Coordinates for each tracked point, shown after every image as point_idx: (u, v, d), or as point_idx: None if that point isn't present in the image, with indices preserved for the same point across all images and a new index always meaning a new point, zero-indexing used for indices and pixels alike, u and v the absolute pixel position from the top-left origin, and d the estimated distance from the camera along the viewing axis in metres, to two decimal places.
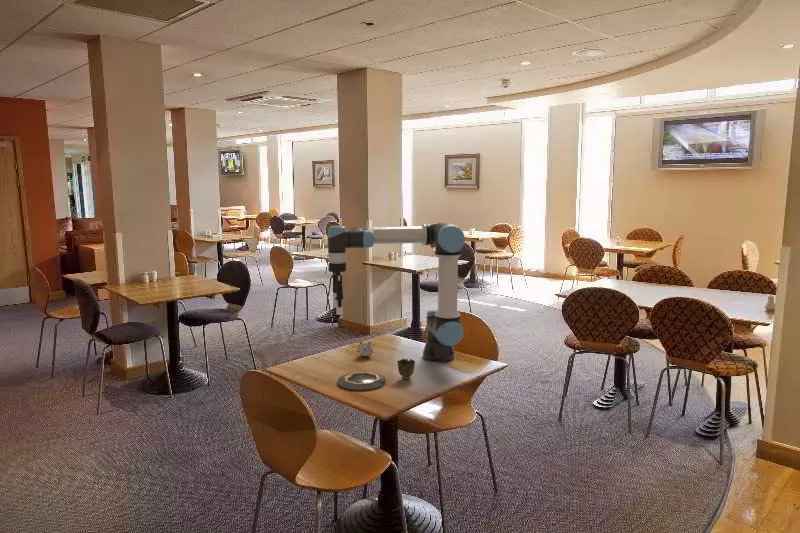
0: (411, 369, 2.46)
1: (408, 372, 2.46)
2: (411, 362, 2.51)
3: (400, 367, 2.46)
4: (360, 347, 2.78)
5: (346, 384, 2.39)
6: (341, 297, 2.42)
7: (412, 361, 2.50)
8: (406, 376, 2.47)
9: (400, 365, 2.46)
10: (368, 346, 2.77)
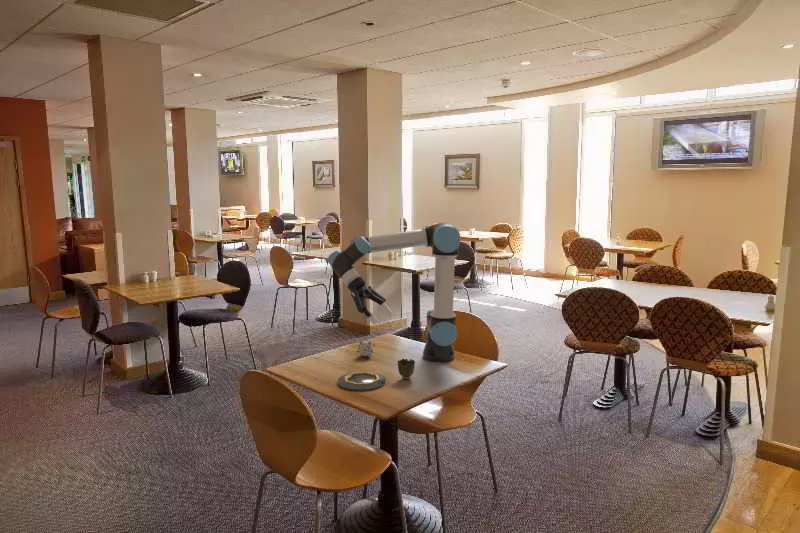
0: (411, 369, 2.46)
1: (408, 372, 2.46)
2: (411, 362, 2.51)
3: (400, 367, 2.46)
4: (360, 347, 2.78)
5: (346, 384, 2.39)
6: (360, 308, 2.43)
7: (412, 361, 2.50)
8: (406, 376, 2.47)
9: (400, 365, 2.46)
10: (368, 346, 2.77)
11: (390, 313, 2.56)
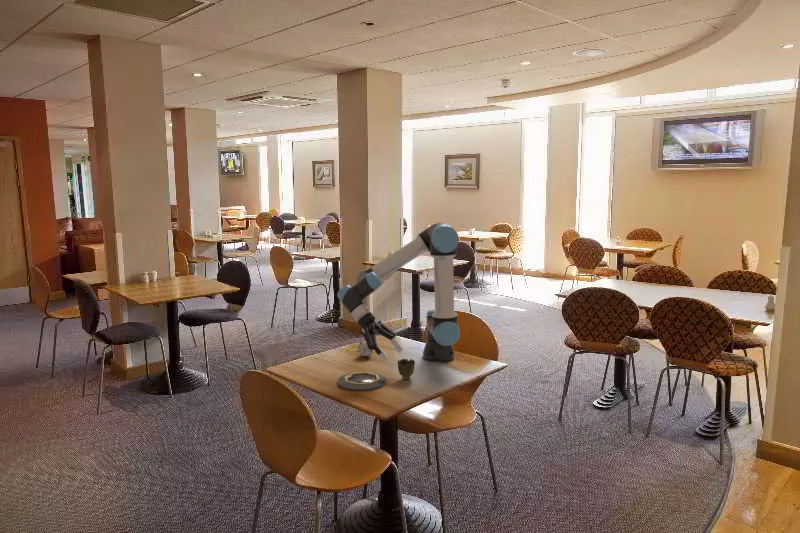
0: (411, 369, 2.46)
1: (408, 372, 2.46)
2: (411, 362, 2.51)
3: (400, 367, 2.46)
4: (360, 347, 2.78)
5: (346, 384, 2.39)
6: (370, 345, 2.42)
7: (412, 361, 2.50)
8: (406, 376, 2.47)
9: (400, 365, 2.46)
10: None
11: (400, 348, 2.55)
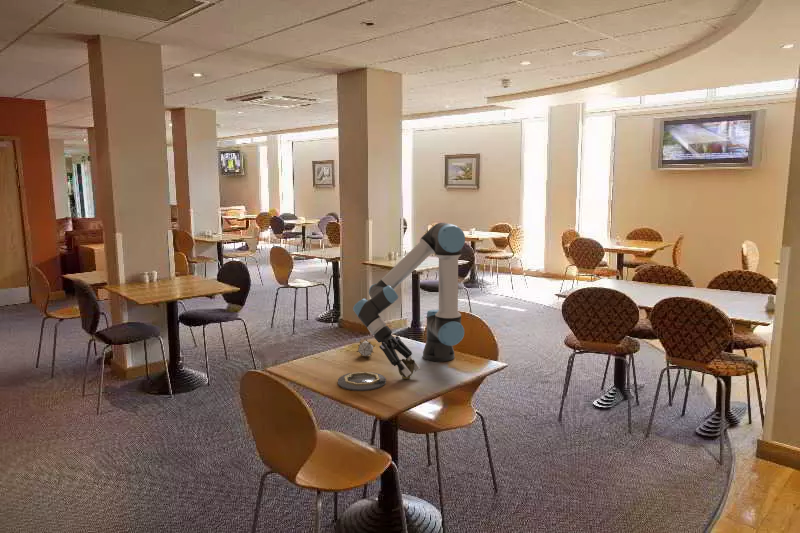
0: (411, 369, 2.46)
1: None
2: (411, 362, 2.51)
3: None
4: (360, 347, 2.78)
5: (346, 384, 2.39)
6: (394, 361, 2.42)
7: (412, 361, 2.50)
8: None
9: None
10: (368, 346, 2.77)
11: (417, 367, 2.50)
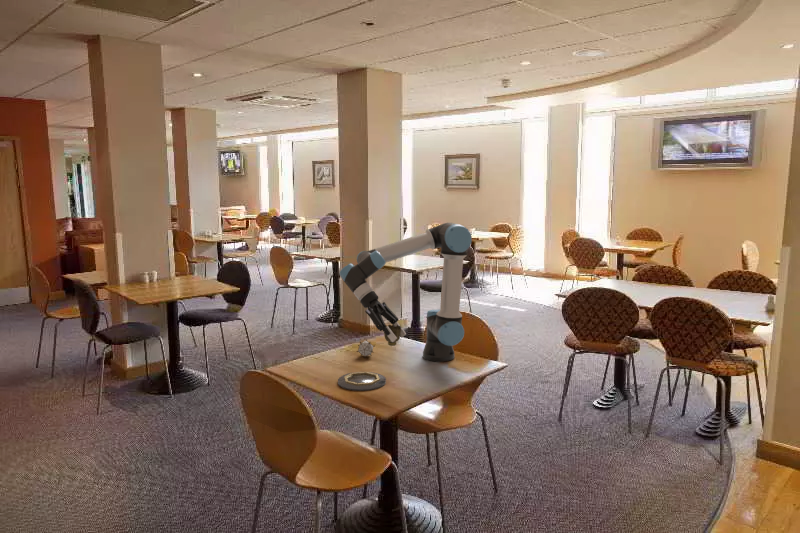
0: (397, 334, 2.42)
1: None
2: (397, 328, 2.47)
3: None
4: (360, 347, 2.78)
5: (346, 384, 2.39)
6: (379, 326, 2.39)
7: (398, 327, 2.47)
8: (392, 342, 2.43)
9: None
10: (368, 346, 2.77)
11: (403, 333, 2.47)
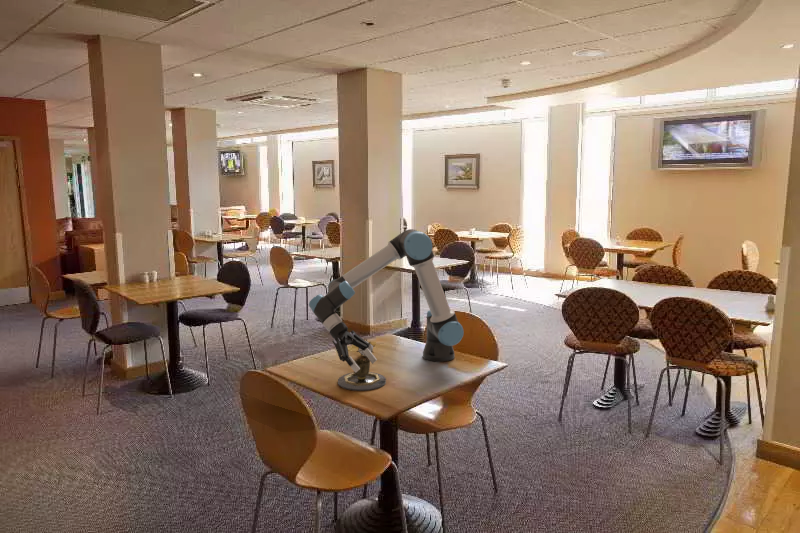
0: (366, 369, 2.42)
1: (363, 372, 2.41)
2: (367, 362, 2.47)
3: None
4: None
5: (346, 384, 2.39)
6: (342, 357, 2.36)
7: (367, 361, 2.46)
8: (361, 376, 2.43)
9: None
10: None
11: (374, 359, 2.49)
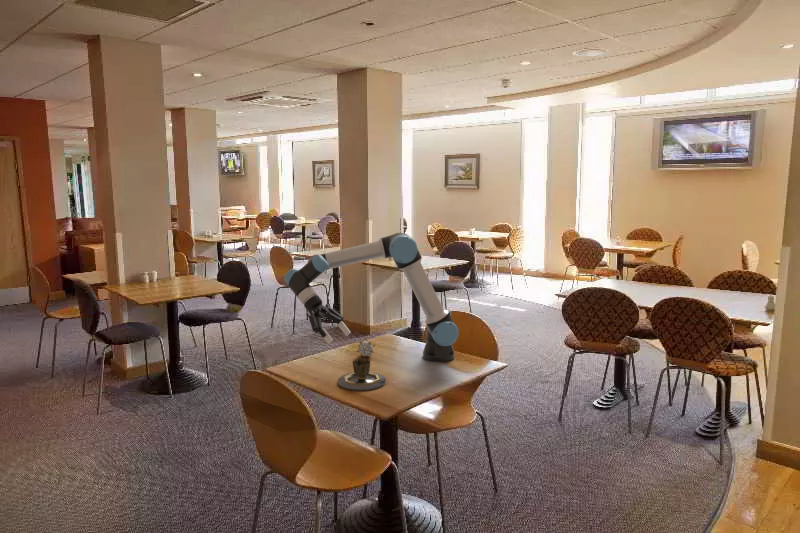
0: (366, 369, 2.42)
1: (363, 372, 2.41)
2: (367, 362, 2.46)
3: (355, 367, 2.42)
4: (360, 347, 2.78)
5: (346, 384, 2.39)
6: (315, 328, 2.40)
7: (368, 361, 2.46)
8: (361, 376, 2.43)
9: (355, 365, 2.41)
10: (368, 346, 2.77)
11: (347, 332, 2.53)
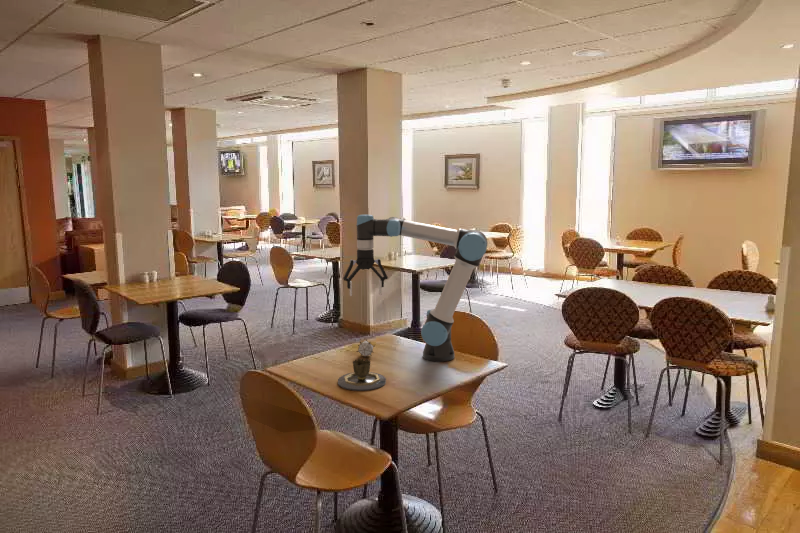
0: (366, 369, 2.42)
1: (363, 372, 2.41)
2: (367, 362, 2.47)
3: (355, 367, 2.42)
4: (360, 347, 2.78)
5: (346, 384, 2.39)
6: None
7: (368, 361, 2.46)
8: (361, 376, 2.43)
9: (355, 365, 2.41)
10: (368, 346, 2.77)
11: (379, 292, 2.68)
